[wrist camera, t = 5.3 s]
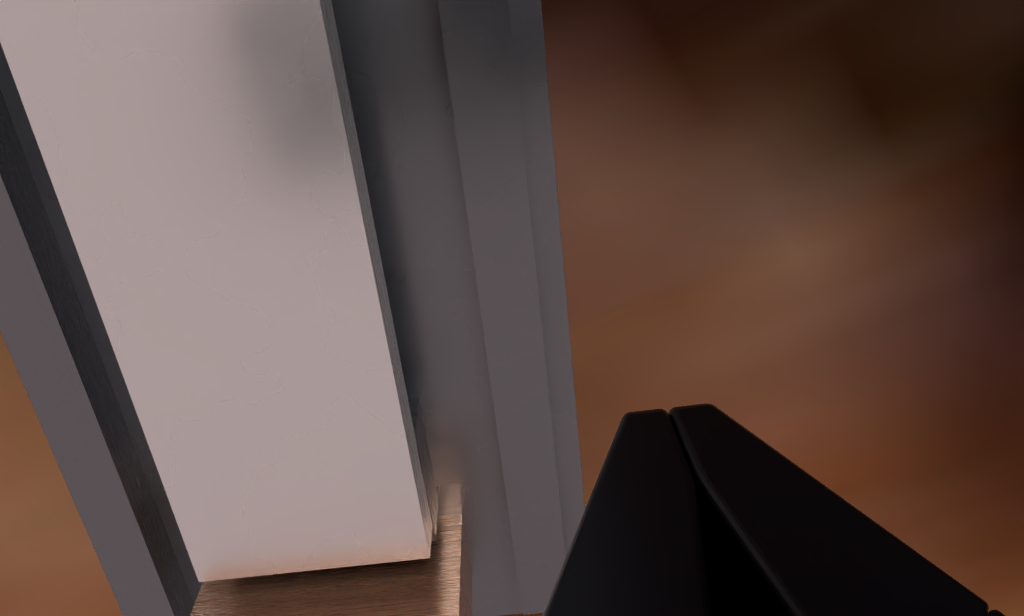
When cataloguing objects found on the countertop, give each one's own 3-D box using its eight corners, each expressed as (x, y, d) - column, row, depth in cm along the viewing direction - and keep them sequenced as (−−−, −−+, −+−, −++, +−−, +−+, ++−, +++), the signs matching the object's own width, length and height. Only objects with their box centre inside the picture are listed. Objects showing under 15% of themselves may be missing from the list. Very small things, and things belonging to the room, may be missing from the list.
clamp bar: (243, -476, 11) (210, -525, 10) (433, 517, 19) (429, 568, 18) (-119, -429, 12) (-204, -472, 10) (215, 539, 19) (194, 592, 18)
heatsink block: (481, -595, 14) (480, -943, 8) (582, 539, 25) (614, 744, 19) (-245, -500, 14) (-762, -770, 8) (173, 582, 25) (78, 797, 19)
